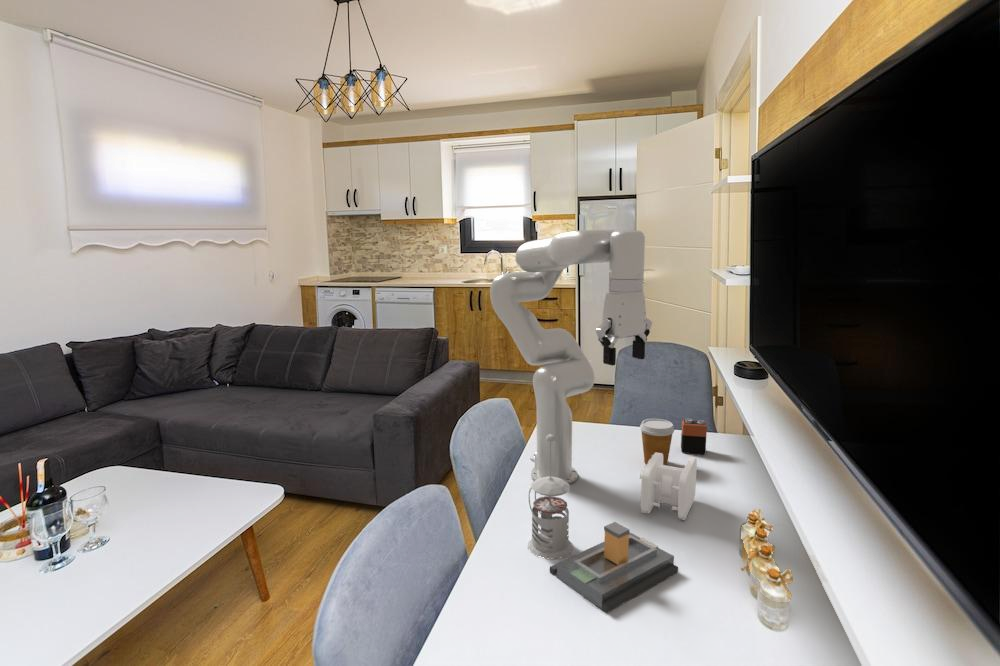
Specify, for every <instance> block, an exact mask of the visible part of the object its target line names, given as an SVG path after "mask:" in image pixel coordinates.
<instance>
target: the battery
mask: <svg viewBox="0 0 1000 666" xmlns="http://www.w3.org/2000/svg"><path fill="white" fill-rule="evenodd" d="M707 425H708V424H707V422H706V421H704V420H703V419H697V420H693V419H692V418H688V417H687V418H685V419H683V420H681V434H680V435H681V436H680V450H681V453H682V454H693V455H706V451H707V448H706V447H707V434H708V433H707V430H708V427H707Z"/></svg>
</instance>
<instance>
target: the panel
mask: <svg viewBox="0 0 1000 666" xmlns="http://www.w3.org/2000/svg"><path fill="white" fill-rule="evenodd" d="M604 544H605V540H604V541H603V542H602V541H601V543H598V544H595V545H594V546H592V547H590V548H587V549H585V550H583V551H581V552H578V553H576V554H575V555H572V556H570V557H568V558H566V559H563V560H561V561H559V562H557V563H556V564H557V574H556V578H557V579H559V580H560V581H561V582H562V583H564V584H565V585H567V586H569V588H571V589H573V590H574V591H575V592H576V593H578V594H580V595H581V596H582V597H583V598H585V599H586V600H587V601H589V602H590V603H592V604H593V605H595V606H596V607H597V608H598V609H600V610H601V611H603V610H602V603H604V602H606V601H608V600H610V599H612V598H613V597H615V596H617V595H619V594H621V593H623V592H624V591H626V590H628V589H630V588H632V587H633V586H635V585H637V584H639V583H641V582H643V581H644V580H646V579H648V578H650V577H652V576H654V575H655V574H657V573H659V572H661V571H663V570H664V569H666V568H668V567H670V566H672V565H675V562H674V561H675V556H674V555H672V554H670V553H669V552H667V551H665V550H663V549H661V548H660V547H659V545H657V544H655V543H653V542H652V541H649V540H648V539H646V538H644V537H640V536H638V535H635V534H634V533H632V532H630V534H629V543H628V560H627V561H625V562H623V563H621V564H619V565H617V564H615V563H614V562H612V561H611V560H609V559H607V558H606V557H604Z"/></svg>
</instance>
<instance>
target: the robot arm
mask: <svg viewBox="0 0 1000 666" xmlns="http://www.w3.org/2000/svg"><path fill="white" fill-rule="evenodd" d="M645 237H646V236H645V233H644V232H643V231H642V230H638V229H637V230H627V229H626V230H625V229H624V230H622V229H621V230H617V229H616V230H615V229H581V230H574V231H568V232H563V233H559V234H556V235H554V236H550V237H549V236H548V237H545V238H539V239H535V240H533V239H532V240H529V241H526V242H524V243H523V244H521V245H520V246H519V247H518V248H517V250H516V252H515V262H516V264H517V266H518V267H519V268H520V269H521V270H523V271H518V272H517V271H516V272H515V271H514V272H508V273H502V274H500V275H498V276H497V277H495V278H494V279H493V280H492V282H491V284H490V287H489V298H490V303H491V306H492V309H493V311H494V312H495V314H496V316H497V318H498V319H499V320H500V321H501V322H502V324H503V325H504V326H505V327H506V329H507V330H508V332H509V334H510V336H511V338H512V340H513V342H514V344H515V345H516V347H517V349H518V350H519V351H518V352H520V354H521V356H522V359H524V361H525V362H526V363H527V364H528V365H530V366H533V367H534V366H536V367H537V366H540V367H539V368H538V369H536V370H535V372H534V374H533V377H532V386H533V392H534V397H535V406H536V451H535V452H534V453H533V455H532V456H530V458H529V459H530V461H531V462H533V463H534V467H533V468H532V469H531V471H530V476H531V479H532V480H533V481H535V480H537V479H539V478H542V477H547V476H550V442H549V441H546V437H547V436H548V435H549V434H552V435H554V437H555V441H552V442H551V477H558V478H560V479H562V480H564V481H566V482H567V483H568V484H569V485H570V484H572V483H574V482H575V481H577V480H578V471H577V470H576V468H574V467H572V465H573V464H572V463H573V458H572V457H573V413H572V410H571V408H570V406H569V404H568V402H567V398H569V397H573V396H576V395H580V394H584V393H586V392H588V391H590V390H592V388H593V387H594V384H595V373H594V370H593V367H592V366H591V363H590V361H589V359H588V358H587V356H586V355H585V353H584V351H583V349H582V348H581V346H580V345H579V343H578V341H577V340H576V339H575V337H574V336H573V334H571V332H570V331H568V330H567V329H565V328H561V327H559V328H557V327H555V328H549V329H548V328H547V329H546V328H544V327H543V326H542V324H540V323H539V321H538V319H537V318H536V315H534V313H533V311H531V310H529V309H528V308H527V307H525V306H524V305H522V304H521V303H525V302H535V301H541V300H543V299H545V298H547V297H548V296H549V294H550V293H551V291H552V290H553V289H554V286H555V285H556V283H557V281H558V280H559V278H560V276H561V274H562V273H563V272H564V270H565V269H567V268H568V267H569V266H571V265H583V264H593V263H594V264H598V263H609V264H608V265H609V267H608V269H609V272H608V275H609V276H608V281H609V282H608V292H607V293H606V294H605V299H604V302H603V303H604V304H603V309H602V310H603V311H602V318H601V319H602V321H601V324H600V325H599V326H598V327H597V328H596V330H595V331H596V332H595V334H596V335H597V338H598V339H597V340H598V341H599V342H600V344H601V345H600V346H601V347H603V352H602V353H603V355H602V362H603V365H604V364H605V365H607V366H608V365H609V366H615V365H616V364H617V361H616V359H617V357H616V356H617V348H616V347H615V345H616V343H617V342H618V339H626V338H631V337H633V339H634V340H632V349H631V350H632V355H631V357H632V358H634V359H639V360H644V359H646V358H645V356H646V342H647V341H648V336H649V334H650V333H651V332H650V330H651V328H652V325H653V321H652V320H650V319H649V318H647V317H646V316H647V311H646V298H645V293H644V285H645V283H644V281H645V280H644V279H645V278H644V274H645V273H644V272H645V251H646V250H645V247H646V246H645V243H646V239H645Z"/></svg>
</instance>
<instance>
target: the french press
mask: <svg viewBox="0 0 1000 666" xmlns="http://www.w3.org/2000/svg"><path fill="white" fill-rule="evenodd" d="M546 441H549V442H550V476H547V477H542V478H539V479H537V480H533V482H532V483H530V488H529V491H528V504H529V509H530V512H531V517H532V518H531V538H530V539H531V540H529V541H528V542H527V543H528V545H527V549H528V550H529V549H530V551H531V552H532V553H534V554H535V555H534V554H533V555H534V556H536V555H537V556H536V557H538V556H541V557H544V558H543V559H546V558H549V559H548V560H552V559H551V558H557V559H561V558H560V557H562V558H565V557H567V556H569V555H570V554H571V553H572V551H573V550H574V546H573V545H574V544H573V543H572V542H571V540H570V539H569V537H570V536H569V529H570V528H569V527H570V526H569V521H570V518H569V516H570V513H569V512H570V511H569V508H568V503H567V501H566V500H564V499H563V498H561V497H559V496H562V495H565V494H567V493H568V492H569V491H570V490H571V489H570V488H571V485H570V484H568V483H567V482H566V481H564V480H562V479H560V478H558V477H551V442H552V441H555V437H554V435H552V434H549V435H548V436H547V437H546ZM531 490H533V491H534V501H533V503H532V504H533V507H532V506H531V499H530V498H531V496H530V494H531ZM537 494H539V495H541V497H538V498H537ZM563 511H564V512H565V513H564V512H563ZM539 514H540V517H539ZM556 514H557V515H556ZM553 515H555V516H553ZM558 515H562V516H558ZM539 532H540V533H539ZM530 551H529V552H530ZM531 552H530V553H531ZM532 553H531V554H532ZM566 555H567V556H566ZM541 557H540V558H541Z"/></svg>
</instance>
